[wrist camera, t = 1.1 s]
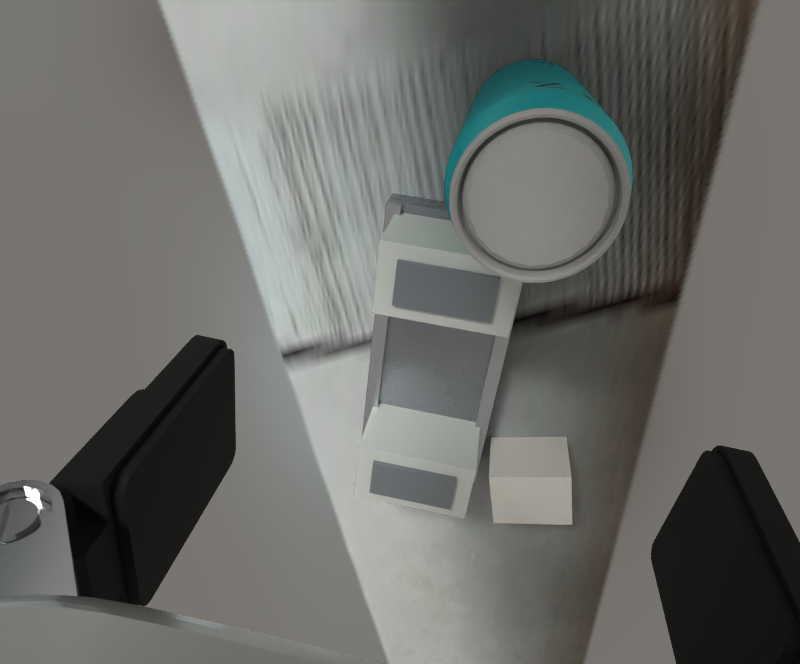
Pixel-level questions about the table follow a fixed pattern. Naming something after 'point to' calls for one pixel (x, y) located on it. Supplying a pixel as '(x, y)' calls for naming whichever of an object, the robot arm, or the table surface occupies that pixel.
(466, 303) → the module
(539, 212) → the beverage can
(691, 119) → the table surface
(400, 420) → the block
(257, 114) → the table surface
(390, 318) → the rail
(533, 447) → the block
